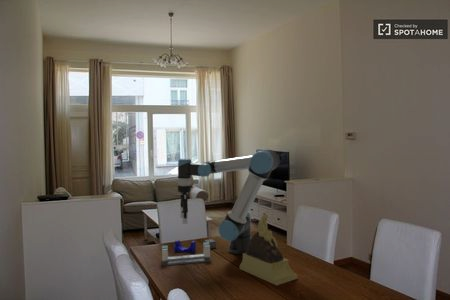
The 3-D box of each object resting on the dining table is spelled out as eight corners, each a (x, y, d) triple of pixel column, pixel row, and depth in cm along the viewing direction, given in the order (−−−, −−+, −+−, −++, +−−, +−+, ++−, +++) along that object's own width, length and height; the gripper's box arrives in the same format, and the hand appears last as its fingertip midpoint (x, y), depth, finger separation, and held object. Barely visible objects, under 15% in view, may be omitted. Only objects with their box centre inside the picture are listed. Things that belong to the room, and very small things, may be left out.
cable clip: (174, 251, 231) (173, 242, 231) (177, 249, 236) (177, 240, 235) (192, 253, 227) (192, 243, 227) (195, 251, 232) (195, 241, 231)
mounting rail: (208, 255, 222) (208, 251, 222) (210, 261, 210) (210, 258, 210) (162, 258, 218) (162, 255, 218) (162, 265, 206) (162, 262, 206)
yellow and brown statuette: (297, 278, 181) (295, 215, 180) (276, 285, 174) (274, 219, 173) (259, 263, 205) (257, 207, 204) (239, 269, 198) (237, 210, 196)
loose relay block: (212, 245, 242) (211, 239, 242) (216, 247, 237) (215, 241, 237) (204, 246, 240) (204, 240, 240) (208, 249, 235) (208, 242, 235)
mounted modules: (208, 252, 220) (208, 241, 220) (210, 256, 213) (209, 244, 213) (162, 256, 216) (161, 245, 216) (162, 260, 209) (161, 248, 209)
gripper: (176, 181, 238) (175, 216, 239) (179, 188, 213) (179, 226, 215) (188, 181, 239) (188, 215, 241) (193, 188, 215) (192, 225, 216)
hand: (183, 220), depth 228 cm, fingers open, 13 cm apart
